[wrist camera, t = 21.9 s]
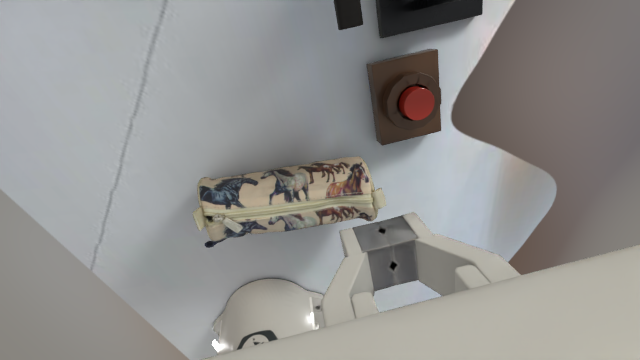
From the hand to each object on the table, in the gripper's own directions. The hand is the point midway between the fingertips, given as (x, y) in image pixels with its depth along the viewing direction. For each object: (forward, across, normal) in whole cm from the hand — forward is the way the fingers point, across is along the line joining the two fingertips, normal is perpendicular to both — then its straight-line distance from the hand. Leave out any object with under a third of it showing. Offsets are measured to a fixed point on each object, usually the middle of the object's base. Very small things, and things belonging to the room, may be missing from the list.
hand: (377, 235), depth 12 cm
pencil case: (+29, +5, +10) cm, 31 cm away
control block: (+29, -12, +2) cm, 32 cm away
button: (+26, -12, +2) cm, 28 cm away
